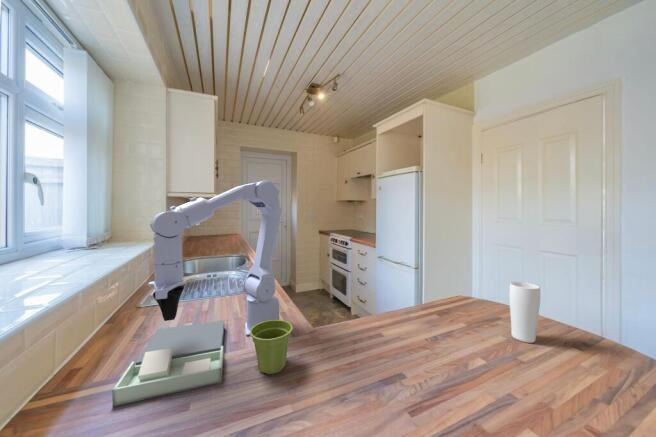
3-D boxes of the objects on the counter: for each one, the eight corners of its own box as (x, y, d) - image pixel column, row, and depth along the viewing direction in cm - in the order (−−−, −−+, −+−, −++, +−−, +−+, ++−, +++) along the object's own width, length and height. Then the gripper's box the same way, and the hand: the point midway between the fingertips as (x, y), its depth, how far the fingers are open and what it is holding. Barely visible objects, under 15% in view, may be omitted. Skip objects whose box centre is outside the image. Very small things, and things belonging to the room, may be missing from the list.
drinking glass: (534, 335, 70) (535, 283, 69) (543, 347, 64) (544, 290, 63) (505, 330, 73) (506, 280, 72) (511, 341, 67) (512, 286, 66)
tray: (223, 357, 59) (223, 345, 59) (221, 382, 51) (221, 368, 51) (132, 375, 53) (132, 361, 53) (112, 406, 44) (112, 390, 44)
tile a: (208, 371, 50) (208, 381, 50) (210, 357, 55) (210, 366, 55) (180, 377, 49) (180, 387, 49) (185, 362, 53) (185, 371, 53)
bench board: (224, 328, 74) (224, 320, 74) (221, 357, 59) (221, 347, 59) (157, 338, 68) (157, 329, 68) (135, 373, 53) (135, 362, 53)
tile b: (173, 353, 56) (171, 347, 55) (168, 375, 52) (166, 370, 51) (146, 357, 54) (145, 352, 53) (139, 381, 50) (137, 375, 49)
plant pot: (254, 385, 50) (254, 343, 49) (247, 360, 58) (246, 324, 58) (298, 371, 54) (298, 333, 54) (285, 350, 62) (285, 316, 62)
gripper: (157, 258, 64) (158, 310, 64) (136, 271, 50) (138, 336, 50) (188, 256, 66) (189, 306, 66) (176, 268, 53) (178, 330, 53)
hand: (170, 319), depth 59 cm, fingers closed
